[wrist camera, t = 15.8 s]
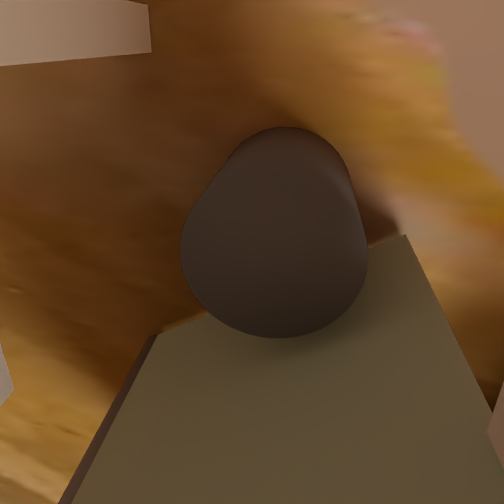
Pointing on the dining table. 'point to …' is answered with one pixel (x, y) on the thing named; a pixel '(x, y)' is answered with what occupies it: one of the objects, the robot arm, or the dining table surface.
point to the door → (302, 410)
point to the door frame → (71, 30)
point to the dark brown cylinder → (277, 237)
